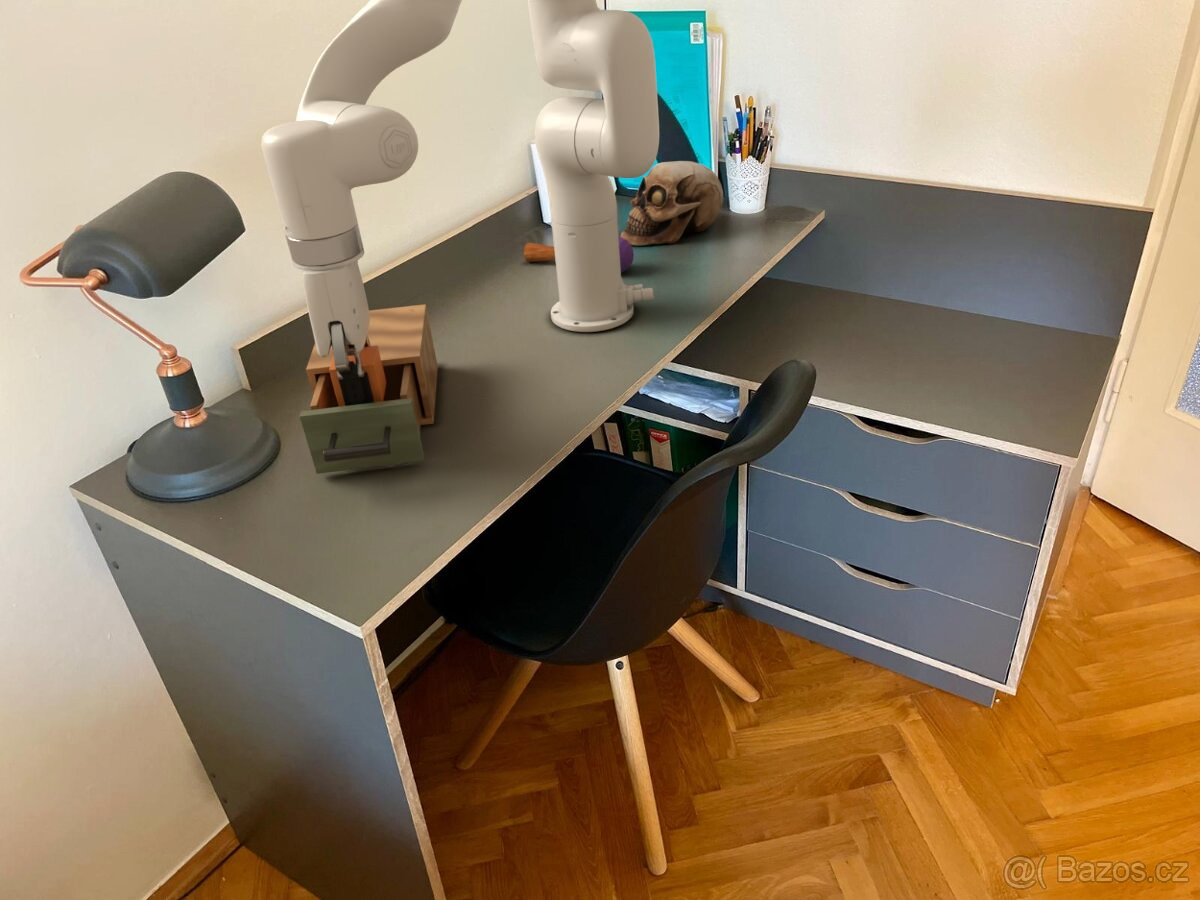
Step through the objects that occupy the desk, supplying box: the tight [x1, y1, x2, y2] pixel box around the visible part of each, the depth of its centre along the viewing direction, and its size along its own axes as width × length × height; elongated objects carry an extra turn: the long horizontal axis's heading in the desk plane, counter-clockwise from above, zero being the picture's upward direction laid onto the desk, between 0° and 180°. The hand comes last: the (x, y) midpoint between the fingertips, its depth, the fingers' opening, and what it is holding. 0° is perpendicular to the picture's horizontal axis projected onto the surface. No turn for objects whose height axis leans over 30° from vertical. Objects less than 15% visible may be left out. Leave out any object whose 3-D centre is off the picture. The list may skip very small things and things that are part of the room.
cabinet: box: [305, 303, 439, 426], centre depth 117 cm, size 16×14×10 cm
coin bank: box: [619, 160, 724, 247], centre depth 162 cm, size 16×17×13 cm
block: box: [329, 346, 386, 407], centre depth 104 cm, size 5×5×5 cm
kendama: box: [523, 236, 635, 273], centre depth 153 cm, size 6×6×20 cm
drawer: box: [299, 362, 425, 475], centre depth 106 cm, size 19×12×8 cm, turn 7°
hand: (362, 392), depth 105 cm, fingers closed on block, 5 cm apart
